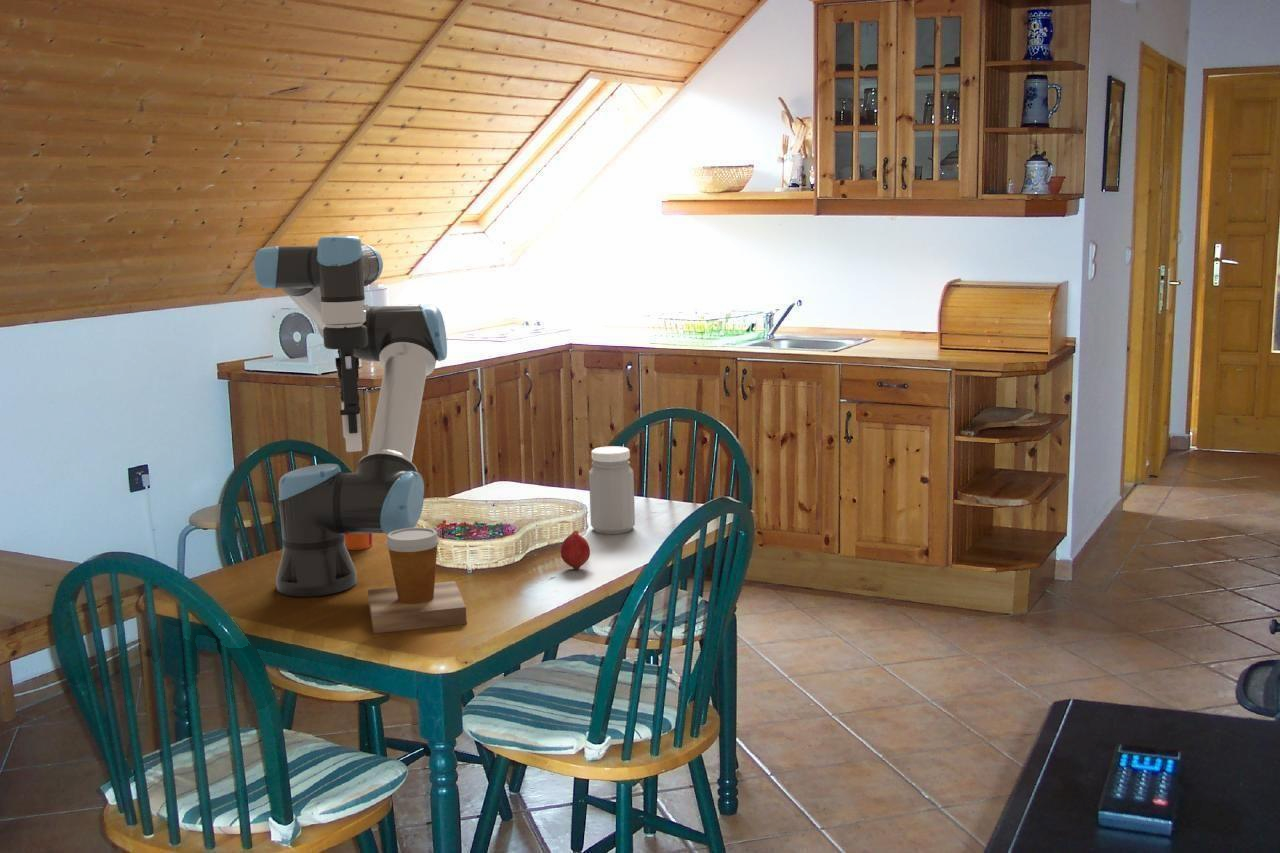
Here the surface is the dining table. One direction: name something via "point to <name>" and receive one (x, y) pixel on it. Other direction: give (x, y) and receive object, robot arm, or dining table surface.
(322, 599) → the dining table surface
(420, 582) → the disposable coffee cup
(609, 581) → the dining table surface
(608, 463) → the jar
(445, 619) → the square wooden board
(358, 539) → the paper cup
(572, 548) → the onion
